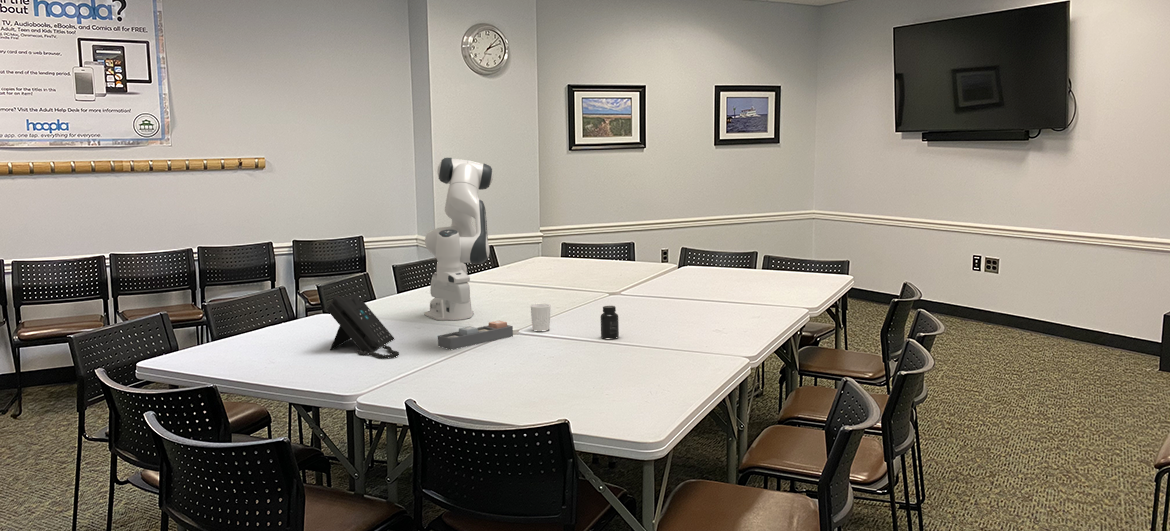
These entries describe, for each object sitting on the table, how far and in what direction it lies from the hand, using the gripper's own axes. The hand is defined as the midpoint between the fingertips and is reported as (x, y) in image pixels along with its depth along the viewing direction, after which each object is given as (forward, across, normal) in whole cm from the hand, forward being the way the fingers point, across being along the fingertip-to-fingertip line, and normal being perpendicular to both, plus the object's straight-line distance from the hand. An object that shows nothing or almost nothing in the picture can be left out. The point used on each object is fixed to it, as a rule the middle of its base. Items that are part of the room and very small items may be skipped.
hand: (450, 312), depth 307 cm
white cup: (+13, +4, +40) cm, 42 cm away
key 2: (+10, +1, +7) cm, 12 cm away
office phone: (+14, -18, -22) cm, 32 cm away
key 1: (+12, +1, 0) cm, 12 cm away
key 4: (+10, +1, +21) cm, 24 cm away
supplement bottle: (+12, +33, +50) cm, 61 cm away
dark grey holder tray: (+13, +1, +11) cm, 17 cm away
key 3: (+12, +1, +15) cm, 19 cm away
